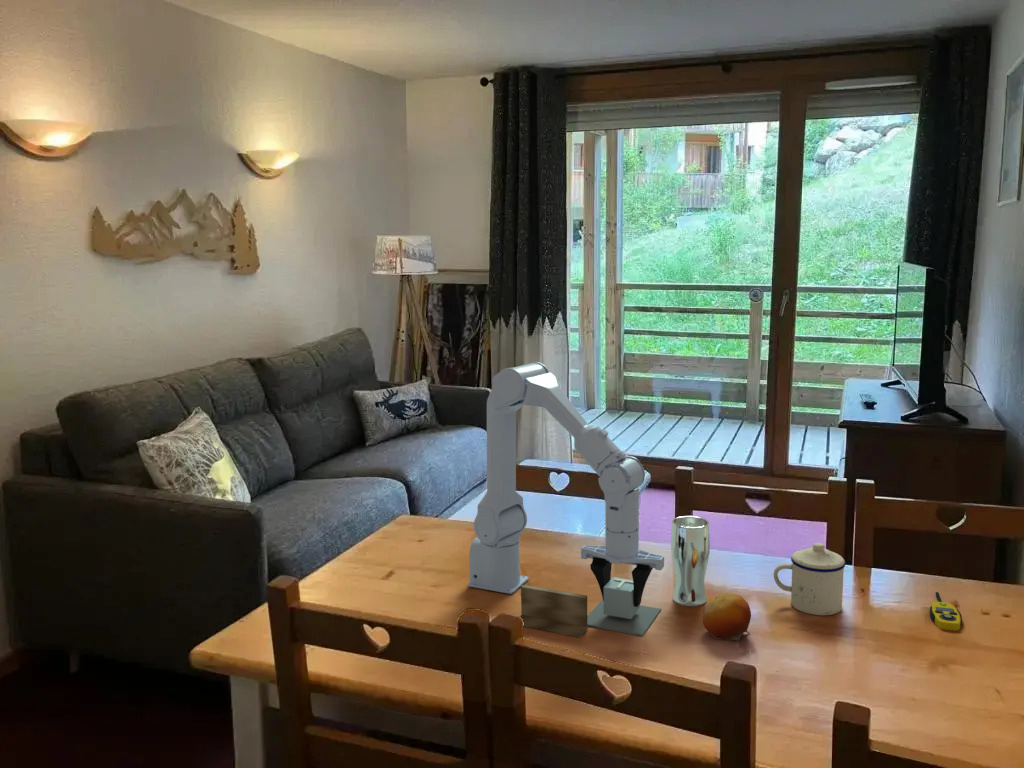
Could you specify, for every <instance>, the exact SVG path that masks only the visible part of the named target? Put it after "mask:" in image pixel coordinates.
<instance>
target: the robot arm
mask: <svg viewBox="0 0 1024 768" xmlns="http://www.w3.org/2000/svg"><path fill="white" fill-rule="evenodd" d="M491 379H492V380H491V381H492V388H491V390H490V392H489V394H488V397H487V399H486V492H485V494H484V496H483V497H482V498H481V500H480V502H479V503H478V504H477V513H476V516H475V518H474V520H473V530H474V532H475V536H476V537H475V538H473V540H472V541H471V544H470V547H469V553H468V554H469V555H468V559H469V583H468V585H467V586H468V587H470V588H474V589H475V588H476V589H480V590H482V589H483V590H486V591H493V592H498V593H503V594H508V595H509V594H510V595H512V594H513V593H515V592H516V591H517V590H518V589H519V588H521V586H522V585H525V583H527V581H528V580H529V576H526V575H521V545H520V544H521V543H520V542H521V537H522V531H523V530H524V529H526V527H527V523H528V515H527V512H526V510H525V508H524V507H525V506H524V497H523V496H522V495H521V494H520V493H518V492H517V411H519V409H521V408H522V407H523V406H531V407H539V408H544V409H545V411H547V412H548V413H549V414H550V416H552V418H554V420H556V421H557V422H558V423H559V424H560V426H562V427H563V428H564V429H565V430H566V431H567V432H568V433H569V435H571V436H572V437H573V438H574V439H573V440H574V441H573V442H574V443H573V445H574V449H575V451H577V453H578V454H579V455H580V456H581V457H582V459H584V461H586V463H587V464H588V465H589V466H590V468H592V470H593V471H594V472H595V474H597V476H599V477H598V484H599V488H600V489H601V491H602V492H603V495H604V502H605V508H604V509H605V510H604V511H605V520H604V522H605V524H604V525H605V527H604V528H605V534H604V535H605V537H604V538H605V541H604V542H605V545H596V544H595V545H594V544H593V545H591V544H584V545H583V546H582V547H581V548H580V558H581V559H583V560H588V559H592V561H591V563H590V571H591V572H592V573H593V575H594V577H595V579H596V580H597V584H598V587H599V589H600V594H601V597H602V599H603V601H604V586H605V585H606V584H607V583H608V582H609V581H610V579H611V578H612V577H611V576H612V565H613V564H615V565H621V564H627V565H632V566H635V567H634V568H633V569H632V570H631V577H632V580H633V585H634V596H633V603H634V607H638V606H639V605H641V603H642V598H643V593H644V591H645V590H644V589H645V587H646V584H647V581H648V579H649V577H650V574H651V573H652V571H653V569H655V571H662V570H663V569H664V567H665V556H664V555H660V554H656V553H652V552H648V551H645V550H642V549H639V546H640V545H639V544H640V543H639V537H640V535H639V534H640V533H639V531H640V530H639V529H640V525H639V523H640V521H639V520H640V516H639V515H640V514H639V513H640V511H639V510H640V488H639V487H640V486H642V485H643V484H644V482H645V477H646V472H645V468H644V466H643V465H642V463H641V461H640V460H639V459H638V458H637V457H635V456H632V455H627V454H626V453H625V452H624V450H621V449H620V448H619V447H618V446H617V444H616V443H614V441H613V440H612V439H611V438H610V437H609V436H608V435H609V432H608V431H607V430H606V429H605V428H601V427H600V426H599V425H591V424H589V423H588V422H587V421H586V419H585V418H584V416H582V415H581V413H580V412H579V411H578V409H577V407H576V406H575V405H574V404H573V403H572V402H571V401H570V399H569V398H568V397H567V395H566V394H565V393H564V391H563V390H562V389H561V387H560V386H559V384H558V380H557V376H556V375H555V374H553V372H550V370H549V368H548V367H547V366H546V365H545V364H544V363H542V362H539V361H533V362H529V363H528V364H527V363H526V364H523V365H519V366H514V367H506V368H502V369H501V370H500V371H499V372H498V373H496V374H495V375H494V376H493V377H491Z"/></svg>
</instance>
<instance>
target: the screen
mask: <svg viewBox="0 0 1024 768" xmlns="http://www.w3.org/2000/svg"><path fill="white" fill-rule="evenodd" d="M520 598H521V599H520V605H521V606H520V607H521V614H520V615H519V617H521V618H522V619H523V622H524V626H523V627H525V626H526V627H525V628H529V627H531V628H530V629H534V628H535V629H536V630H540V631H541V630H542V631H546V632H549V633H555V634H561V635H566V636H571V637H576V638H581V637H582V636H583V635H584V633H585V632H586V631H587V630H588V626H587V616H588V595H587V594H586V595H585V594H581V593H580V594H579V593H573V592H567V591H562V590H558V589H550V588H544V587H539V586H533V585H527V584H523V585H521V586H520ZM527 626H528V627H527ZM535 629H534V630H535Z"/></svg>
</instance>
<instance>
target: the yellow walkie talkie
mask: <svg viewBox="0 0 1024 768" xmlns="http://www.w3.org/2000/svg"><path fill="white" fill-rule="evenodd" d="M935 596H936V599H937V601H933V602H932V604H931V605H930V607H929V618H930V620H931V621H932V623H934V624H935V626H936V627H938V628H939V629H941V630H946V631H955V632H956V631H959V630H960V629H961V626H962V622H963V617H962V614H961V612H960V610H959V608H956V607H955V606H954V605H953V604H951V603H950V602H943V601H942V598H941V595H940V593H939V591H936V592H935Z"/></svg>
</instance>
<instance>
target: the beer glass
mask: <svg viewBox="0 0 1024 768" xmlns="http://www.w3.org/2000/svg"><path fill="white" fill-rule="evenodd" d="M671 522H672V523H671V534H670V535H671V536H670V551H671V561H672V565H673V566H672V567H673V572H674V579H675V580H674V588H673V592H672V601H674V602H675V604H677V605H681V606H684V605H685V606H684V607H698V605H700V606H702V604H703V605H704V604H705V603H706V602H707V593H706V588H705V587H706V586H705V579H706V572H707V569H708V564H709V558H710V550H711V549H710V548H711V535H710V534H711V533H710V521H709V520H707V518H703V517H700V516H696V515H695V516H694V515H683V516H678V517H675V518H673V519H672V521H671Z"/></svg>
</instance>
